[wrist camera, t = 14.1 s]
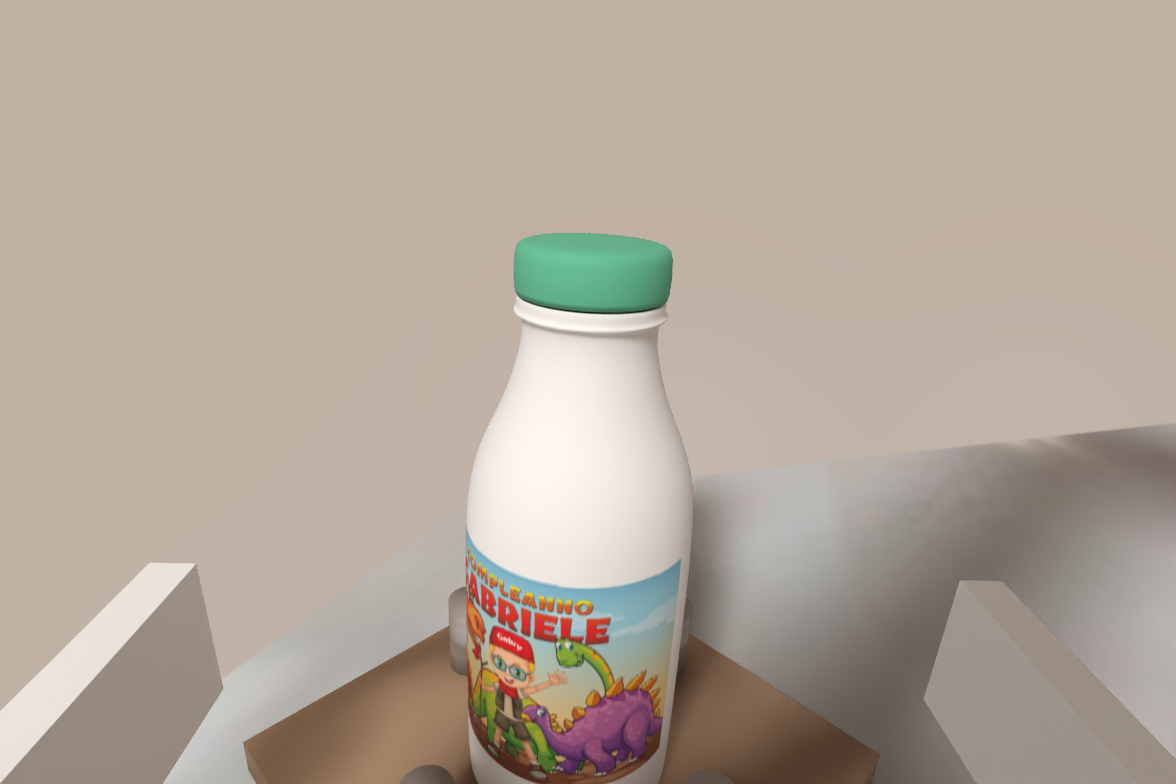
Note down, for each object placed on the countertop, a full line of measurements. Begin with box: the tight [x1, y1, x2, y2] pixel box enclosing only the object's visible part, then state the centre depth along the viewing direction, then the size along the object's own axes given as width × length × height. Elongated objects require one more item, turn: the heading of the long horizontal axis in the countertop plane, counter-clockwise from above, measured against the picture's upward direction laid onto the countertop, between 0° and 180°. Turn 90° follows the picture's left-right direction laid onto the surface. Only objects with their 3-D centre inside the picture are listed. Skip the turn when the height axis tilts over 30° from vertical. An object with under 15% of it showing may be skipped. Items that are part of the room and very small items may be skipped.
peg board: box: [243, 587, 879, 784], centre depth 25 cm, size 18×18×5 cm
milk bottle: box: [466, 233, 693, 784], centre depth 22 cm, size 8×8×20 cm
